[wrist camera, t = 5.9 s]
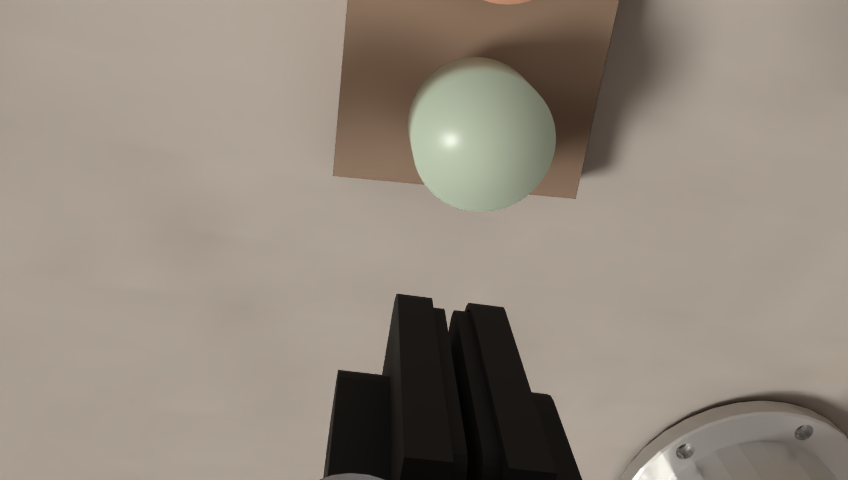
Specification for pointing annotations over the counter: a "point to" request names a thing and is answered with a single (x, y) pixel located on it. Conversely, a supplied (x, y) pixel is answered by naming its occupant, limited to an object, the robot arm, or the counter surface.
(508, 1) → the button terracotta
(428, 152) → the button sage
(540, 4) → the button board
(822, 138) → the counter surface
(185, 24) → the counter surface
